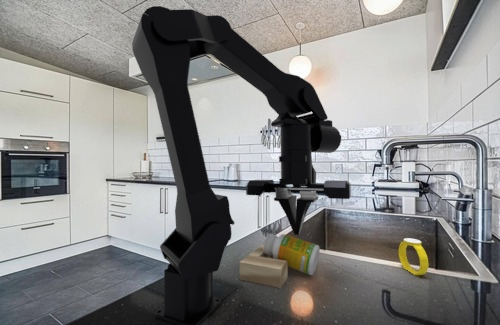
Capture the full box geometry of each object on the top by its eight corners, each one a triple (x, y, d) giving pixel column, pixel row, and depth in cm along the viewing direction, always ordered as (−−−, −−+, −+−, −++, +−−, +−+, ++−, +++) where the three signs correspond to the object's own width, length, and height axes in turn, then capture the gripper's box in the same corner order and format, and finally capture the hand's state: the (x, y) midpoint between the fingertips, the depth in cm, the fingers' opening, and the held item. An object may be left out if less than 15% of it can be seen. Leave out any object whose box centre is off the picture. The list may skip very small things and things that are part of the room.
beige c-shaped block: (280, 288, 39) (280, 269, 39) (239, 279, 42) (239, 262, 42) (300, 258, 51) (300, 244, 51) (268, 253, 54) (268, 240, 55)
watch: (432, 280, 42) (433, 246, 41) (417, 280, 42) (417, 247, 41) (408, 264, 48) (408, 234, 47) (394, 264, 48) (395, 235, 47)
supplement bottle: (314, 254, 40) (263, 236, 45) (310, 282, 41) (260, 261, 46) (321, 240, 45) (274, 225, 50) (317, 266, 46) (271, 249, 51)
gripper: (351, 152, 49) (352, 229, 48) (265, 155, 56) (266, 221, 56) (348, 147, 38) (350, 245, 38) (244, 152, 46) (245, 233, 46)
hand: (297, 234), depth 45 cm, fingers closed
